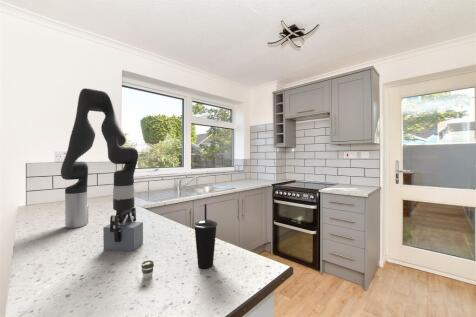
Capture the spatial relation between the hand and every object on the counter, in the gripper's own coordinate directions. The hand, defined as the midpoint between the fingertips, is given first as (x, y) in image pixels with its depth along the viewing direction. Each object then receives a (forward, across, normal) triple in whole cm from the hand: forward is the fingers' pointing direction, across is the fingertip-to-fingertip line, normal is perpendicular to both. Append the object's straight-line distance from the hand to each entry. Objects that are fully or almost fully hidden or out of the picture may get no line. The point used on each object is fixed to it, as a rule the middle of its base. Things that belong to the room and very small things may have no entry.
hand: (124, 237), depth 86 cm
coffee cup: (+4, +21, +19) cm, 29 cm away
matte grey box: (+4, 0, 0) cm, 4 cm away
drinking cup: (+4, +14, +35) cm, 38 cm away
